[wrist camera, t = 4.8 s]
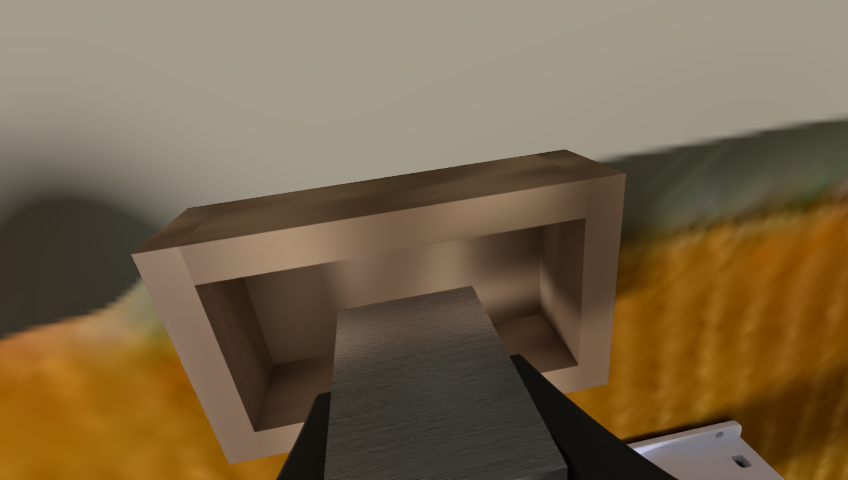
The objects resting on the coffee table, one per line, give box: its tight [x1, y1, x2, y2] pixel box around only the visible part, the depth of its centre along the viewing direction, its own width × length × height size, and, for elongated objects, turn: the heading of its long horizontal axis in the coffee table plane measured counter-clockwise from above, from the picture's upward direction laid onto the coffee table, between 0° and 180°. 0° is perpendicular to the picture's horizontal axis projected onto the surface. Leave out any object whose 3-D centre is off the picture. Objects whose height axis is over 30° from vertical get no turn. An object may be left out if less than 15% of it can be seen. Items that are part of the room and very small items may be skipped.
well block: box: [132, 150, 626, 464], centre depth 15 cm, size 14×8×4 cm, turn 97°
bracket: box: [324, 286, 568, 480], centre depth 9 cm, size 4×4×7 cm
